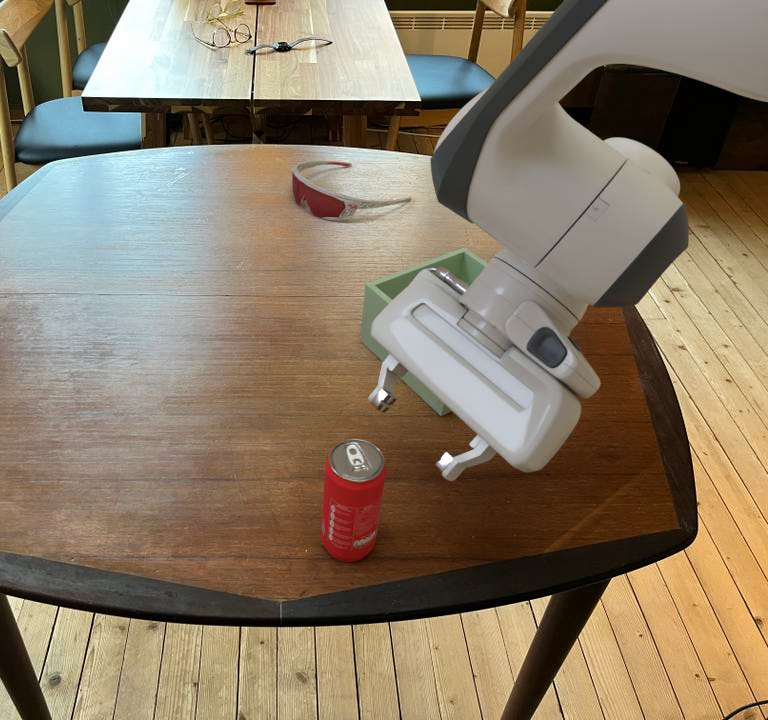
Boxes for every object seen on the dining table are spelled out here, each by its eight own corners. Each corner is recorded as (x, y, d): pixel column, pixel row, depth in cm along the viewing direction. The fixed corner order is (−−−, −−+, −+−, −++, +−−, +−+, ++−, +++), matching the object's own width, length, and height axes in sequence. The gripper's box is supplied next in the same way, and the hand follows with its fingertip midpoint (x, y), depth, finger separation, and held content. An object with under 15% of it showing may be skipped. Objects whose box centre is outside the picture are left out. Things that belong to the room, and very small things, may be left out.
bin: (539, 369, 89) (558, 311, 83) (441, 416, 83) (453, 358, 77) (453, 302, 99) (464, 246, 93) (359, 340, 93) (365, 283, 87)
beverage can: (328, 571, 68) (335, 488, 60) (314, 525, 71) (319, 442, 64) (382, 560, 69) (396, 477, 61) (364, 515, 72) (375, 432, 64)
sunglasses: (268, 189, 121) (272, 160, 118) (343, 178, 131) (349, 150, 128) (335, 234, 111) (342, 204, 108) (412, 218, 121) (420, 189, 118)
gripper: (416, 244, 66) (322, 361, 69) (595, 375, 53) (470, 514, 56) (446, 270, 71) (357, 379, 74) (617, 397, 58) (501, 524, 61)
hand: (407, 439), depth 65 cm, fingers open, 8 cm apart
